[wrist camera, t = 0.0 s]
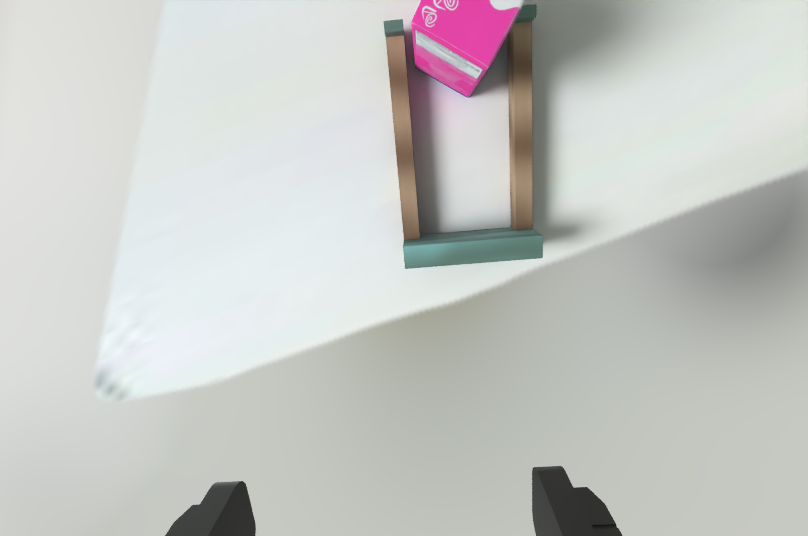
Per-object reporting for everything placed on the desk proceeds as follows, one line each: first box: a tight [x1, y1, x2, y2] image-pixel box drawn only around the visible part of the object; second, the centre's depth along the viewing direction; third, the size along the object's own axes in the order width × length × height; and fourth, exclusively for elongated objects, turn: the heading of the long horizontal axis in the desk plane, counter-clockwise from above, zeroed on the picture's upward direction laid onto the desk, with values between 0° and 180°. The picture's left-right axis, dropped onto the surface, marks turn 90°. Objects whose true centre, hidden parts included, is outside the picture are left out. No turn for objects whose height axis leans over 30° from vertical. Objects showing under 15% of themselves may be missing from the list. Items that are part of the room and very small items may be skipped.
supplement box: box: [411, 0, 525, 97], centre depth 28 cm, size 6×6×12 cm
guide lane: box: [384, 4, 543, 269], centre depth 34 cm, size 20×12×5 cm, turn 5°
